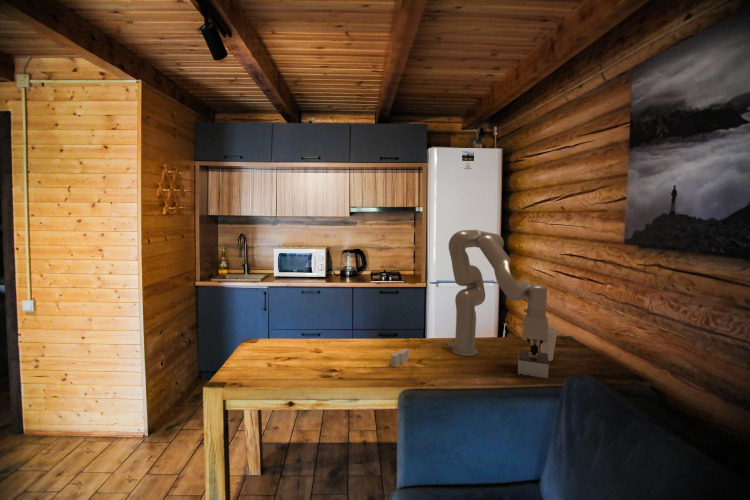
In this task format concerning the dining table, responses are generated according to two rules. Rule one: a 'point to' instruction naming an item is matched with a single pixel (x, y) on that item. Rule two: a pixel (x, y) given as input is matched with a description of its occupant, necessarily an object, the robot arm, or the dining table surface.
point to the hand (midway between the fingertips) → (534, 353)
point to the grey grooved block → (399, 357)
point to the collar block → (533, 364)
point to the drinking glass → (549, 343)
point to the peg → (532, 355)
